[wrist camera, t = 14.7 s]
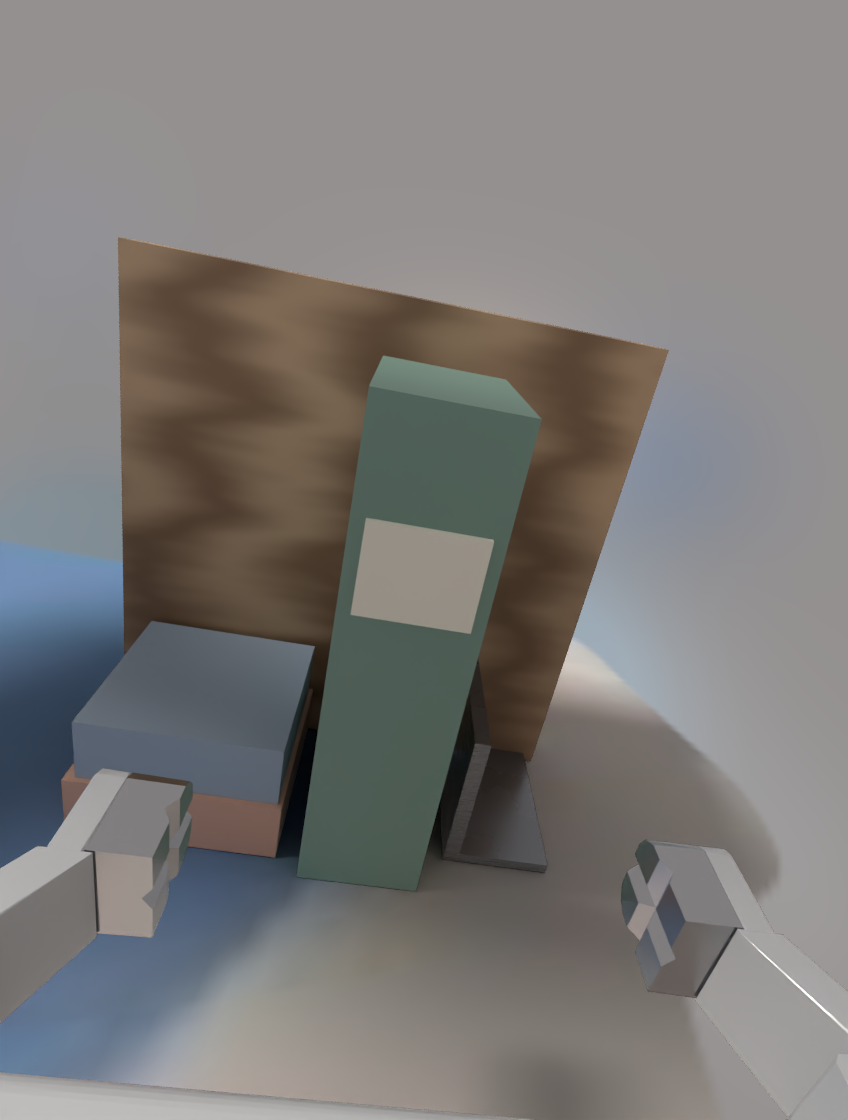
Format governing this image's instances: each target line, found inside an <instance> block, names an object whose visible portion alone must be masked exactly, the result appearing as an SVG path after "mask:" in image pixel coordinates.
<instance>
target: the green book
mask: <svg viewBox="0 0 848 1120" xmlns="http://www.w3.org/2000/svg"><path fill="white" fill-rule="evenodd" d="M541 420H542V419H541V418H540V417H539V415H538V414H537V413H536V412H535V411H534V410H533V409H532V408H531V407H530V405H529V404H528V403H527V402H526V401H525V400H524V399H523V398H522V397H521V395H520V394H519V393H518V392H517V391H516V390H515V389H514V388H513V387H512V386H511V384H510V383H509V382H508V381H507V380H506V379H501V378H496V377H491V376H485V375H480V374H475V373H470V372H465V371H460V370H455V369H450V368H445V367H440V366H435V365H429V364H424V363H419V362H414V361H409V360H404V359H399V358H394V357H389V356H384V355H383V357H382V359H381V361H380V363H379V366H378V368H377V370H376V372H375V374H374V376H373V378H372V381H371V383H370V385H369V389H368V396H367V403H366V409H365V416H364V423H363V430H362V436H361V443H360V450H359V457H358V463H357V470H356V477H355V484H354V490H353V497H352V504H351V511H350V517H349V524H348V531H347V538H346V544H345V551H344V558H343V565H342V571H341V578H340V585H339V592H338V598H337V605H336V612H335V619H334V625H333V632H332V639H331V646H330V652H329V659H328V666H327V673H326V679H325V686H324V693H323V700H322V706H321V713H320V720H319V727H318V733H317V740H316V747H315V754H314V760H313V767H312V774H311V781H310V787H309V794H308V801H307V808H306V814H305V821H304V828H303V835H302V841H301V848H300V855H299V862H298V868H297V875H296V877H301V878H309V879H317V880H325V881H334V882H342V883H350V884H358V885H367V886H375V887H383V888H391V889H400V890H408V891H416V889H417V885H418V881H419V877H420V874H421V870H422V866H423V862H424V859H425V855H426V851H427V847H428V844H429V840H430V836H431V832H432V829H433V825H434V821H435V817H436V814H437V810H438V806H439V803H440V799H441V795H442V791H443V788H444V784H445V780H446V776H447V773H448V769H449V765H450V761H451V758H452V754H453V750H454V746H455V743H456V739H457V735H458V731H459V728H460V724H461V720H462V716H463V713H464V709H465V705H466V701H467V698H468V694H469V690H470V686H471V683H472V679H473V675H474V671H475V668H476V664H477V660H478V656H479V653H480V649H481V645H482V641H483V638H484V634H485V630H486V626H487V623H488V619H489V615H490V611H491V608H492V604H493V600H494V596H495V593H496V589H497V585H498V581H499V578H500V574H501V570H502V566H503V563H504V559H505V555H506V552H507V548H508V544H509V540H510V537H511V533H512V529H513V525H514V522H515V518H516V514H517V510H518V507H519V503H520V499H521V495H522V492H523V488H524V484H525V480H526V477H527V473H528V469H529V465H530V462H531V458H532V454H533V450H534V447H535V443H536V439H537V435H538V432H539V428H540V424H541Z"/></svg>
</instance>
